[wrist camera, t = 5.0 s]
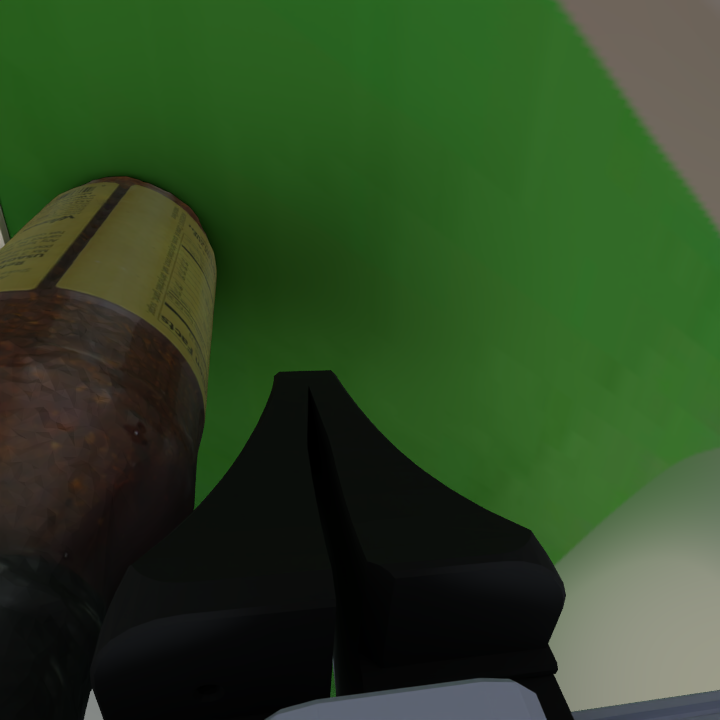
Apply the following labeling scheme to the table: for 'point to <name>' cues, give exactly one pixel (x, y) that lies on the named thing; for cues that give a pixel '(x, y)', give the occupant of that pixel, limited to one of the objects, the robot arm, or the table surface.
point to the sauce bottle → (93, 420)
